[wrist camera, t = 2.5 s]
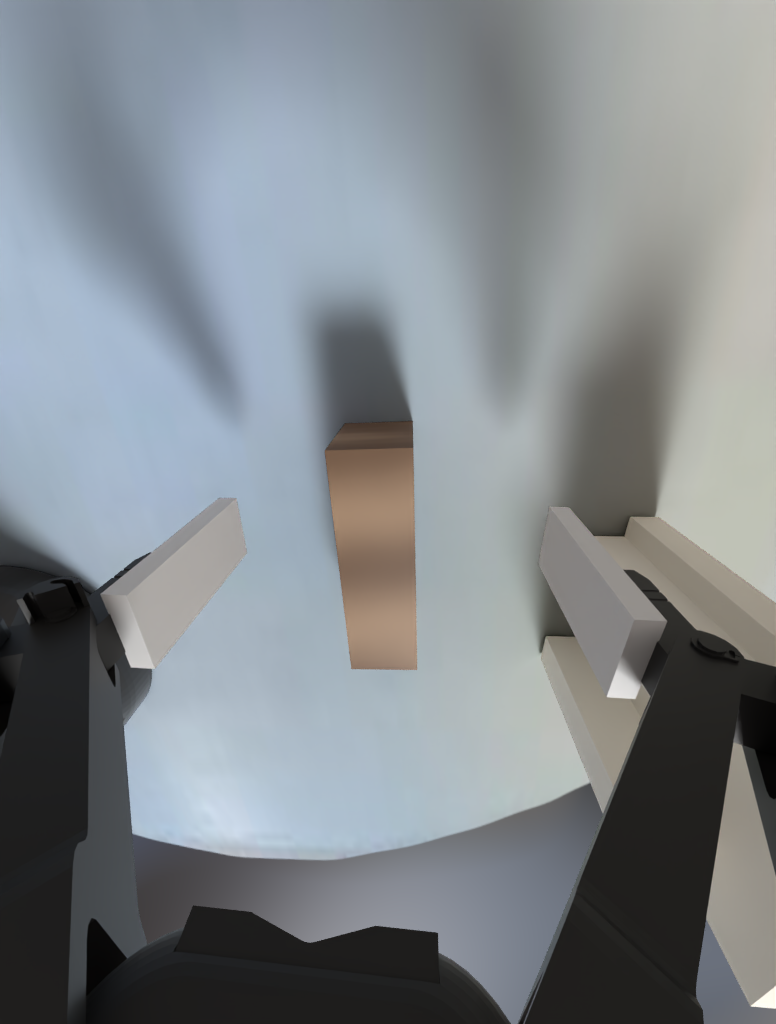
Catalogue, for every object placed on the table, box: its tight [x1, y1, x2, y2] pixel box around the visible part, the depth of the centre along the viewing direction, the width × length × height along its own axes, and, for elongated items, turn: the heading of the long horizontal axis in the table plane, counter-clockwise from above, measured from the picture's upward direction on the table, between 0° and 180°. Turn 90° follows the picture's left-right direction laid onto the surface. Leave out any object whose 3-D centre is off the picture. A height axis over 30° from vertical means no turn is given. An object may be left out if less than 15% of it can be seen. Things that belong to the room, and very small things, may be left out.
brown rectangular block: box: [325, 421, 417, 670], centre depth 19 cm, size 12×4×5 cm, turn 3°
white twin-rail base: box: [541, 517, 776, 1008], centre depth 17 cm, size 4×12×14 cm, turn 0°
